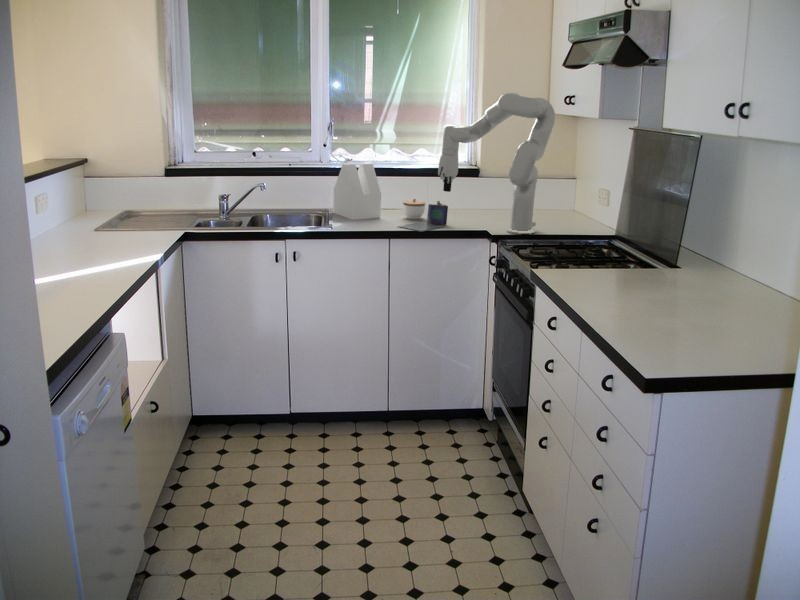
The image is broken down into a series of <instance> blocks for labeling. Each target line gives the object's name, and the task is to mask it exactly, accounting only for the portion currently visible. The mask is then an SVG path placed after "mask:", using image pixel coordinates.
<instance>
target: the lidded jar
mask: <svg viewBox="0 0 800 600" xmlns="http://www.w3.org/2000/svg"><path fill="white" fill-rule="evenodd" d="M402 204H403V206H402V207H403V214H404V216H405V217H406V218H407V219H409V220H419V219H421V217H422V216H423V215H424V214H425V209H426V202H425V201H423V200H417V199H416V198H413V200H405V201H404V200H403V203H402Z"/></svg>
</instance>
